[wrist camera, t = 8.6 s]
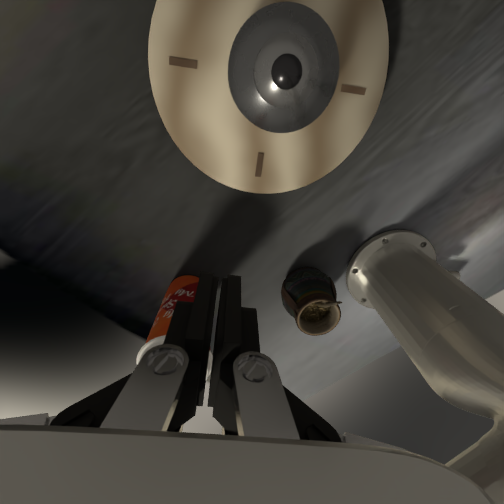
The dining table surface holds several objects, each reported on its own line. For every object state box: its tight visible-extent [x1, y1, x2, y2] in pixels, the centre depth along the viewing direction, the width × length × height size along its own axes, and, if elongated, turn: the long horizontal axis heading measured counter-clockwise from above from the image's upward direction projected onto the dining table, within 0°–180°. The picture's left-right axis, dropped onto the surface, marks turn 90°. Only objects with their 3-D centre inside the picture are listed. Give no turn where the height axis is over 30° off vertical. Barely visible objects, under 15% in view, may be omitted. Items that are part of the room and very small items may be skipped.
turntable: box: [148, 0, 389, 194], centre depth 28 cm, size 22×22×2 cm
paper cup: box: [137, 275, 213, 380], centre depth 35 cm, size 8×8×14 cm
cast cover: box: [228, 2, 340, 133], centre depth 25 cm, size 9×9×5 cm
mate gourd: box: [281, 267, 342, 336], centre depth 38 cm, size 7×8×10 cm
